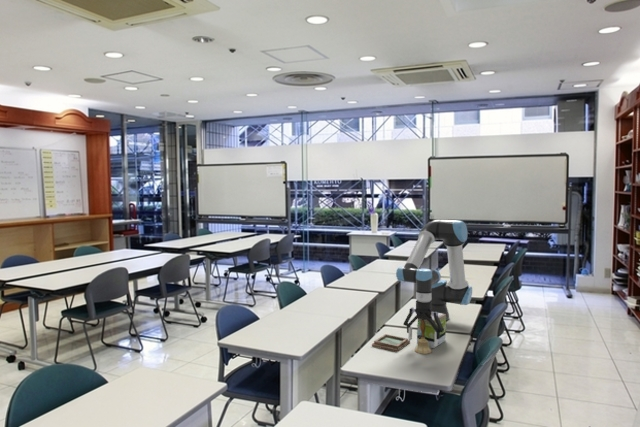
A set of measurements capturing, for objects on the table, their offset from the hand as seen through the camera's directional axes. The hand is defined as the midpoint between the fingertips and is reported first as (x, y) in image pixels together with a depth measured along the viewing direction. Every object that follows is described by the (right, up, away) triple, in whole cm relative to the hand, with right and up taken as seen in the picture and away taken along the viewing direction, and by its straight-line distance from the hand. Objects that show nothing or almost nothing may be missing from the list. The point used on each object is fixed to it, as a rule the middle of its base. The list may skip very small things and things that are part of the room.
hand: (422, 342), depth 222 cm
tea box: (+7, -4, +12) cm, 14 cm away
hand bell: (0, -5, 0) cm, 5 cm away
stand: (-14, -4, +9) cm, 18 cm away
